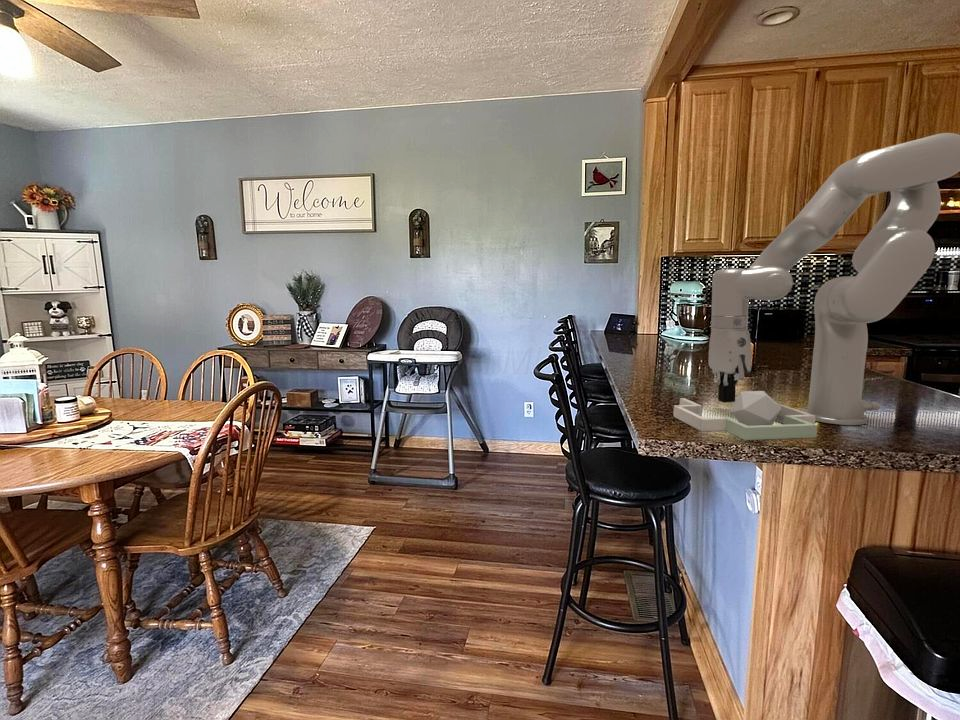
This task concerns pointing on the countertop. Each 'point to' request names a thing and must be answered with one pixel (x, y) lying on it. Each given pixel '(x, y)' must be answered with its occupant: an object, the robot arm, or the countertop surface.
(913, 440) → the countertop surface
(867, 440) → the countertop surface
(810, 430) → the dice tray
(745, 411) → the die
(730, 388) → the robot arm
